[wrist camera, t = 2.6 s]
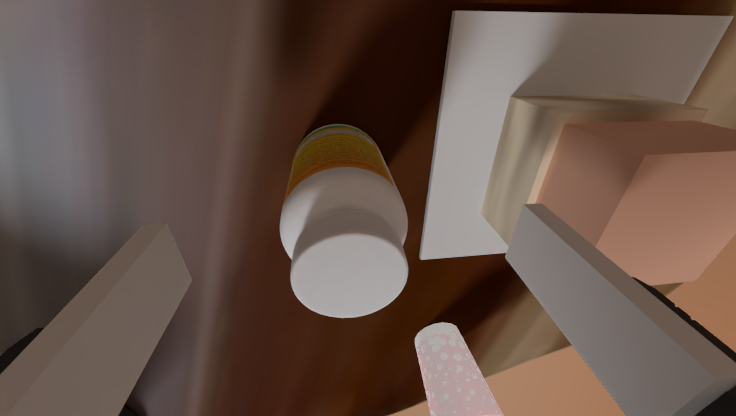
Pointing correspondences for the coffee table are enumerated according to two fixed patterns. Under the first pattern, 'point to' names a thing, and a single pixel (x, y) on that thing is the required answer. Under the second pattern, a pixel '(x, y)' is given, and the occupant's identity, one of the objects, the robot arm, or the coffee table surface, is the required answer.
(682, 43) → the tower mat
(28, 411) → the robot arm
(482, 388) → the beverage cup
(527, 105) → the tower base block
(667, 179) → the tower top block
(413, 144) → the coffee table surface
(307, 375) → the coffee table surface
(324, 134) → the supplement bottle
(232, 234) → the coffee table surface
